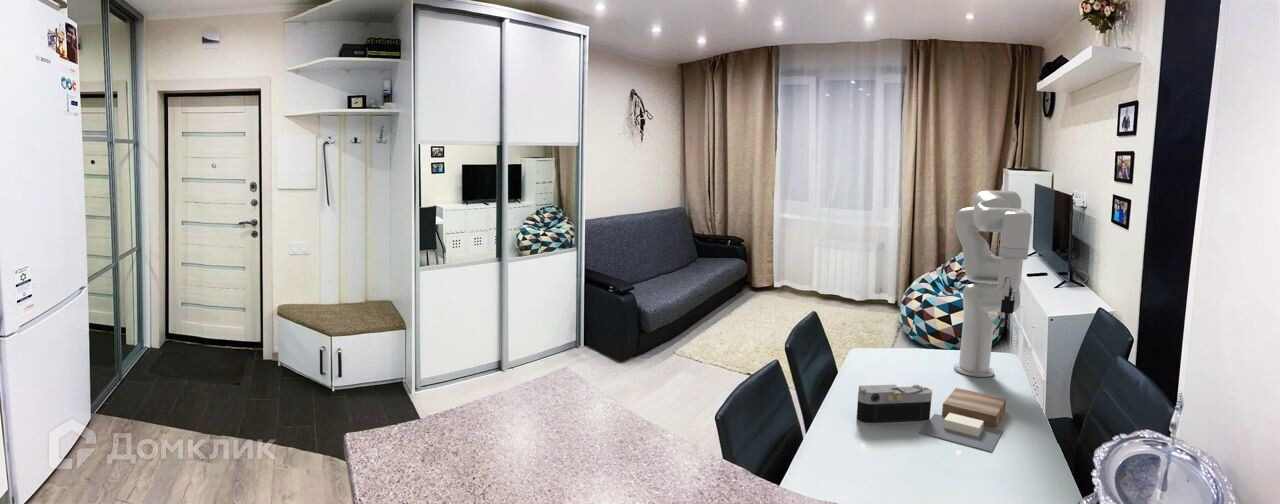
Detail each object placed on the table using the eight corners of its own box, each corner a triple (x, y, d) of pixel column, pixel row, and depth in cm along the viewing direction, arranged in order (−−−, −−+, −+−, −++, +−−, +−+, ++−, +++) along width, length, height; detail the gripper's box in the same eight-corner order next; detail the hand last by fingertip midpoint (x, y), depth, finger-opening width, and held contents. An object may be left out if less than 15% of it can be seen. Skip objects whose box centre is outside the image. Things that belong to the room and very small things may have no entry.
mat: (934, 414, 194) (934, 413, 193) (1002, 431, 183) (1002, 430, 183) (919, 433, 181) (919, 432, 181) (991, 452, 170) (991, 451, 170)
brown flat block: (954, 399, 205) (955, 387, 204) (1005, 411, 196) (1006, 398, 196) (941, 416, 192) (942, 403, 192) (994, 429, 184) (996, 416, 183)
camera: (917, 410, 197) (920, 378, 195) (935, 423, 187) (938, 390, 186) (848, 413, 194) (850, 381, 193) (862, 427, 185) (865, 393, 183)
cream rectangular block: (944, 419, 184) (943, 427, 184) (979, 428, 178) (978, 436, 179) (949, 412, 188) (948, 420, 189) (983, 420, 183) (983, 429, 183)
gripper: (1004, 248, 203) (997, 305, 206) (994, 254, 191) (988, 315, 194) (1031, 251, 198) (1025, 309, 201) (1023, 257, 187) (1016, 320, 190)
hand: (1006, 312), depth 198 cm, fingers closed
